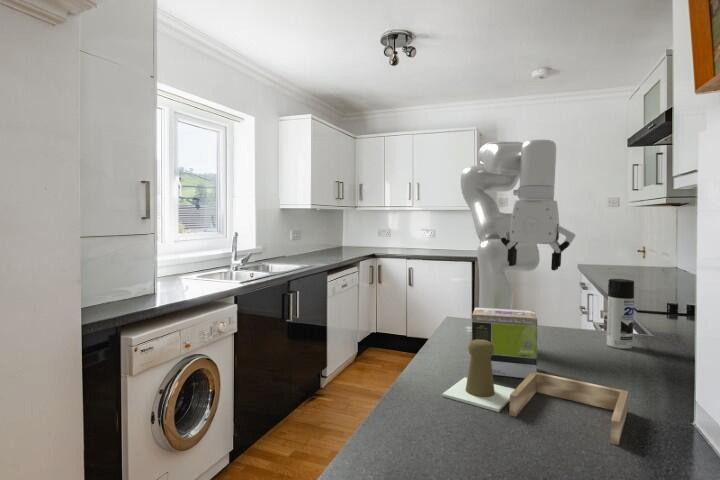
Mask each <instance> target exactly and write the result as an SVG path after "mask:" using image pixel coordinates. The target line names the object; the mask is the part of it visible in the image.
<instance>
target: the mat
mask: <svg viewBox="0 0 720 480" xmlns="http://www.w3.org/2000/svg"><path fill="white" fill-rule="evenodd" d="M467 377H468V376H467ZM467 377H466V376H464V377H463V378H461V379H460V380H459V381H457V382H456V383H455V384H453V385H452V386H451V387H450V388H449V387H448V389H447V390H445V391H444V392H442V394H441V396H442V397H443V398H447V399H450V400H453V401H457V402H460V403H461V402H462V403H464V404H469V405H472V406H474V407H475V406H476V407H479V408H483V409H487V410H490V411H493V412H496V413H497V412H498V413H500V412H501V411H502V409H503V408H505V406H506V405H507V404H508V403H510V394H511V393H512V392H513V391H514V390H515V389H516V388H512V387H507V386H502V385H499V384H495V383H494V392H495V394H494V395H493V396H491V397H477V396H473V395H470V394H468V393H467V392H466V384H467Z"/></svg>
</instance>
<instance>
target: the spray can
mask: <svg viewBox="0 0 720 480" xmlns="http://www.w3.org/2000/svg"><path fill="white" fill-rule="evenodd" d="M634 309H635V281H634V280H633V279H632V280H631V279H627V278H625V279H624V278H609V279H608V286H607V312H606V313H607V314H606V315H607V318H606V319H607V320H606V345H607V346H608V347H610V348H614V349H618V350H632V349H633V342H634V341H633V338H634V337H633V336H634V316H635V315H634V312H635V311H634Z"/></svg>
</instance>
